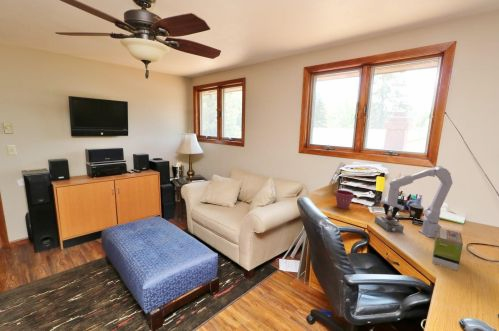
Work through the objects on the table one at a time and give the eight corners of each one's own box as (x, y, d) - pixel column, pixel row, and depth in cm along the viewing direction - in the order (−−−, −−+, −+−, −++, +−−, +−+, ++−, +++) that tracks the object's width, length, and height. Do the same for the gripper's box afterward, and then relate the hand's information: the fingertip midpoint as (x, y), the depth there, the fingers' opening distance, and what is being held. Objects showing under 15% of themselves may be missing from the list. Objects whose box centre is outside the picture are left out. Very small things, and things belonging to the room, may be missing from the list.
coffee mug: (424, 221, 170) (426, 208, 168) (412, 221, 170) (414, 208, 168) (413, 215, 181) (415, 203, 179) (402, 214, 181) (404, 202, 179)
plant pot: (353, 206, 196) (355, 192, 194) (350, 211, 185) (352, 196, 182) (336, 203, 204) (337, 189, 202) (332, 207, 192) (333, 192, 190)
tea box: (432, 251, 128) (437, 226, 126) (456, 258, 122) (462, 232, 119) (431, 263, 117) (436, 236, 114) (458, 271, 110) (464, 243, 108)
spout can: (394, 220, 158) (396, 210, 156) (389, 220, 156) (391, 210, 155) (389, 217, 161) (391, 208, 160) (384, 218, 160) (386, 208, 159)
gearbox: (404, 233, 149) (406, 225, 148) (389, 232, 149) (390, 224, 148) (388, 221, 167) (389, 214, 166) (374, 221, 167) (375, 214, 166)
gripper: (407, 199, 152) (404, 218, 155) (385, 193, 164) (382, 211, 167) (402, 201, 148) (399, 221, 151) (379, 194, 160) (377, 213, 163)
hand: (390, 216), depth 158 cm, fingers closed on spout can, 4 cm apart
